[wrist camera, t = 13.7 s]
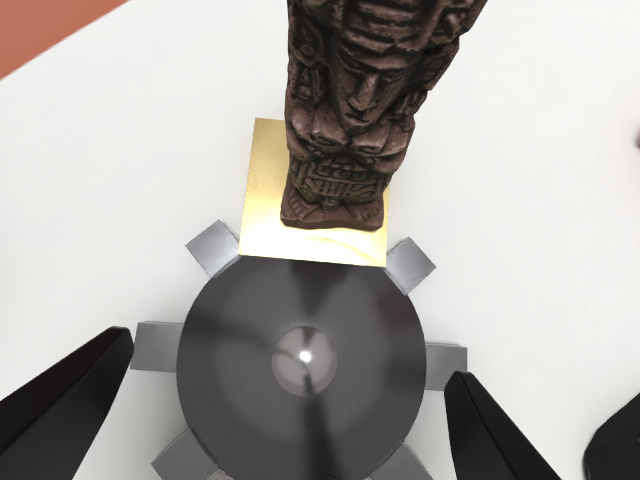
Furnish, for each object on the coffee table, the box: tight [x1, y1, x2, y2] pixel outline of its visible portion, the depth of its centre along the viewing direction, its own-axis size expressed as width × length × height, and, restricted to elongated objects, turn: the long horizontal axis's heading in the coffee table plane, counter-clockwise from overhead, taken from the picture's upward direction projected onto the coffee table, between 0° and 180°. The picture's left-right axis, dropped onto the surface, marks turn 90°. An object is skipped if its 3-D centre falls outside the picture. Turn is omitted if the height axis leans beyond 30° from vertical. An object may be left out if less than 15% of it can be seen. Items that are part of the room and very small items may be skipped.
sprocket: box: [130, 118, 467, 480], centre depth 21 cm, size 27×21×2 cm
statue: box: [280, 0, 488, 231], centre depth 13 cm, size 7×7×20 cm
